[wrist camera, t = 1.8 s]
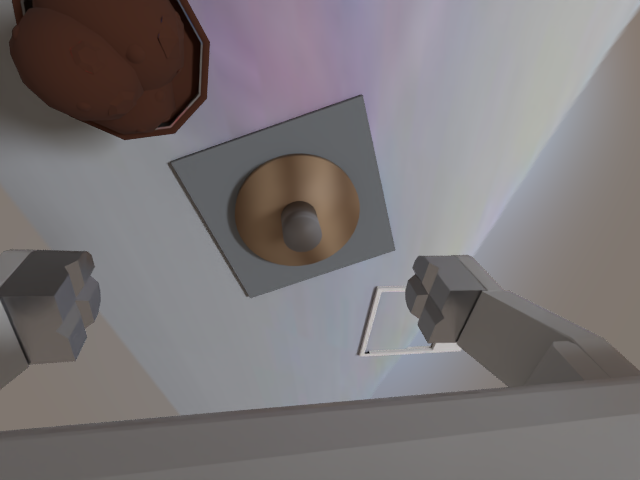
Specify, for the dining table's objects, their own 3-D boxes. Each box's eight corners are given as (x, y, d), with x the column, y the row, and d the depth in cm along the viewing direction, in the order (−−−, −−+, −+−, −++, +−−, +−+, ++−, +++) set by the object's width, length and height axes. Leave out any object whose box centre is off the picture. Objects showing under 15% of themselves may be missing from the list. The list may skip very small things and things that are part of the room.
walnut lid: (340, 134, 36) (351, 152, 32) (368, 239, 44) (380, 264, 40) (212, 179, 37) (207, 202, 33) (263, 275, 45) (264, 302, 41)
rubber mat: (361, 94, 35) (362, 95, 34) (393, 248, 46) (395, 250, 46) (171, 161, 35) (170, 162, 35) (250, 295, 47) (250, 298, 47)
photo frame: (460, 351, 61) (360, 357, 57) (457, 346, 61) (358, 352, 58) (493, 287, 53) (378, 289, 49) (489, 282, 54) (376, 284, 50)
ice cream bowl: (196, 126, 34) (164, 198, 22) (65, 62, 30) (-69, 108, 17) (242, 13, 30) (235, 25, 17) (95, -82, 25) (-54, -156, 13)
